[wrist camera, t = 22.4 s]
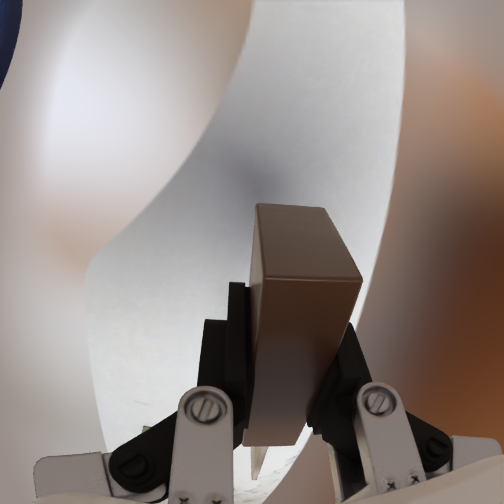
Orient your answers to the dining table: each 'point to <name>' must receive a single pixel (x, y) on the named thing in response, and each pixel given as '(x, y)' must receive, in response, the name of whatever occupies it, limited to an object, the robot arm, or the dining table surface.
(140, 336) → the dining table surface
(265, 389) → the knife
